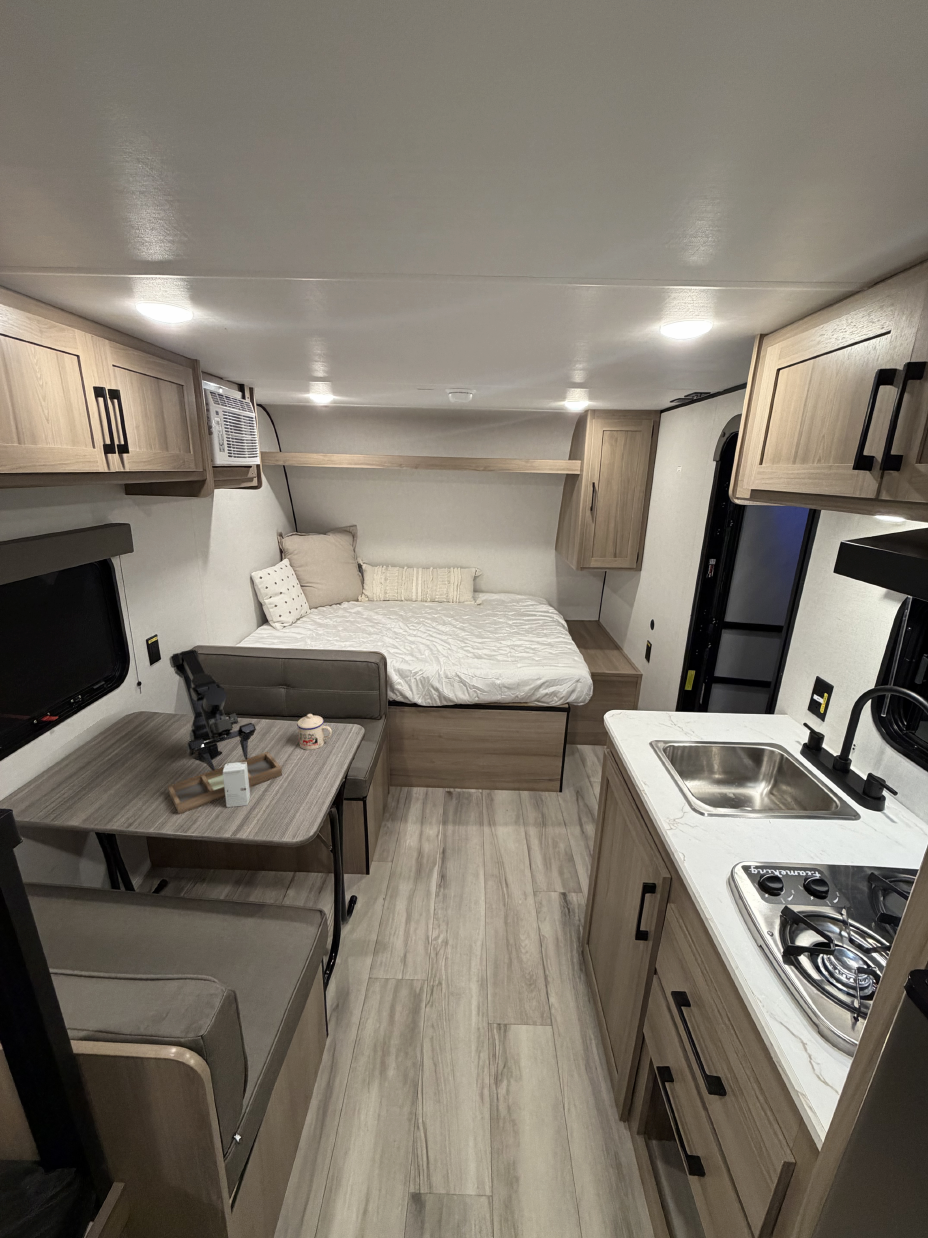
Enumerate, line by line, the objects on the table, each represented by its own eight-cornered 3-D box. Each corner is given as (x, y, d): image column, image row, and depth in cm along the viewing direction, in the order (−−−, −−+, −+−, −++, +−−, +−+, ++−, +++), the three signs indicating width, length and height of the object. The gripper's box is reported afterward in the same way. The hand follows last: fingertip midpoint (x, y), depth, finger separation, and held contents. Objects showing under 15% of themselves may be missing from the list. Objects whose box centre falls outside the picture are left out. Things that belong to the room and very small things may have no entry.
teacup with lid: (294, 750, 177) (292, 720, 174) (304, 737, 186) (302, 708, 183) (328, 751, 176) (326, 722, 173) (336, 738, 185) (334, 709, 182)
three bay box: (169, 794, 153) (167, 786, 152) (268, 759, 171) (267, 751, 171) (178, 814, 144) (177, 805, 143) (282, 775, 163) (281, 767, 162)
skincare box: (226, 808, 147) (220, 772, 143) (229, 798, 151) (224, 763, 148) (248, 805, 148) (244, 769, 145) (251, 796, 153) (246, 761, 149)
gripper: (182, 717, 143) (198, 768, 138) (250, 698, 154) (267, 745, 150) (180, 731, 151) (195, 780, 146) (244, 712, 162) (260, 757, 158)
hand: (230, 764), depth 149 cm, fingers open, 9 cm apart
